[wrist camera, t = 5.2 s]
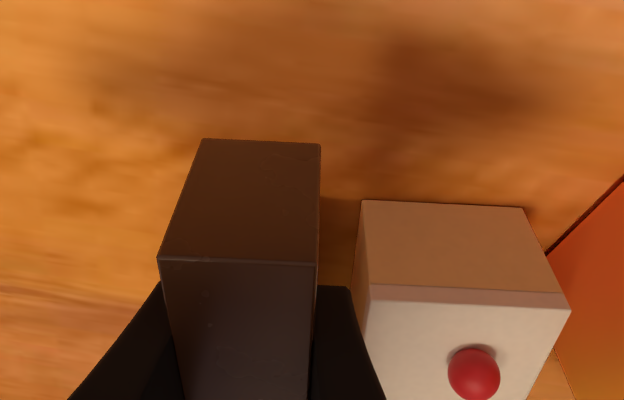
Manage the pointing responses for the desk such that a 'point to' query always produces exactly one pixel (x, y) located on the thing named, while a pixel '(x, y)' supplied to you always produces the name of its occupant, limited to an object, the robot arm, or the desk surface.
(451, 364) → the cake
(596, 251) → the mottled yellow carton
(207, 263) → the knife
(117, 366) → the robot arm
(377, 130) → the desk surface
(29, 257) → the desk surface
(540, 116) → the desk surface
